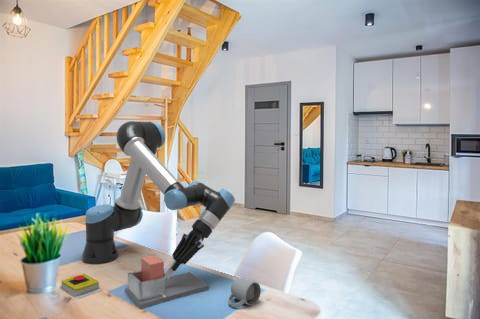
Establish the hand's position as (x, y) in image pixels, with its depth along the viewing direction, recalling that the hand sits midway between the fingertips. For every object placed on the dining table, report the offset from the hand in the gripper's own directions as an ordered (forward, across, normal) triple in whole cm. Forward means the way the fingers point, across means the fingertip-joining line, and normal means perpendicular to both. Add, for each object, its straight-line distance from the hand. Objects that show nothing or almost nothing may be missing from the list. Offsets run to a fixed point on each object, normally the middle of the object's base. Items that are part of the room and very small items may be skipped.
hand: (165, 276), depth 129 cm
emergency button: (+22, +20, +13) cm, 32 cm away
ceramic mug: (-9, -23, -17) cm, 30 cm away
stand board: (+3, 0, -4) cm, 6 cm away
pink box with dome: (+6, 0, 0) cm, 6 cm away
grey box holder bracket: (+8, 0, +2) cm, 8 cm away
